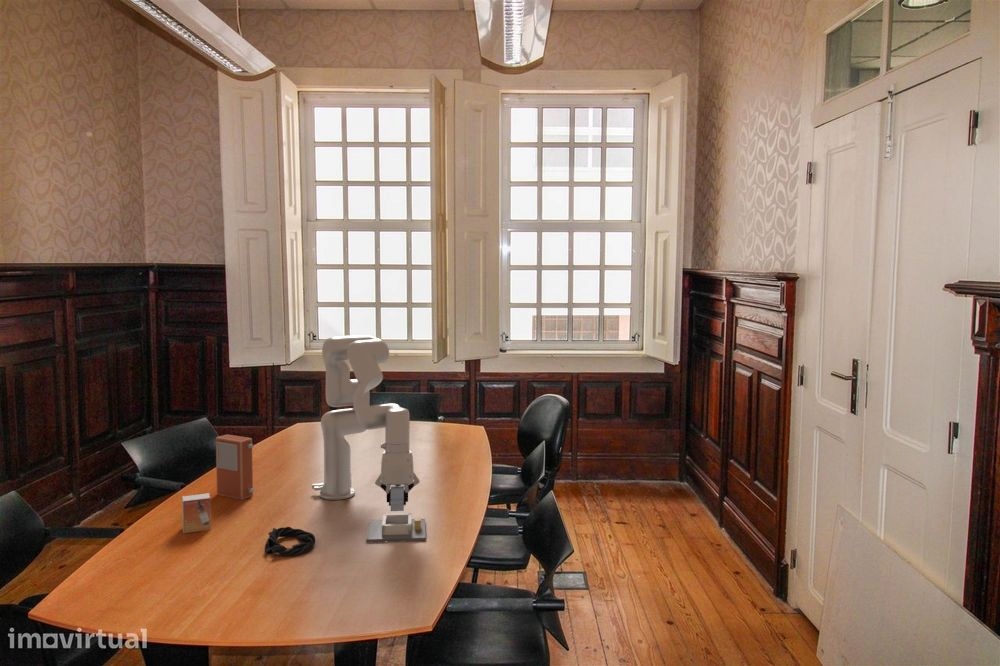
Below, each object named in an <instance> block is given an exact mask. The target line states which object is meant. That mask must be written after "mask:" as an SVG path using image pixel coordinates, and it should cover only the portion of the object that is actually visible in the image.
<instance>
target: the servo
mask: <svg viewBox="0 0 1000 666" xmlns="http://www.w3.org/2000/svg"><path fill="white" fill-rule="evenodd" d="M390 489H391V501H390V504H391V505H390V512H404V511H405V505H404V489H405V488H404V485H391V487H390Z"/></svg>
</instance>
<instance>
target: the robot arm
mask: <svg viewBox="0 0 1000 666" xmlns="http://www.w3.org/2000/svg"><path fill="white" fill-rule="evenodd" d="M389 349H390V348H389V346H388V344H387V343H386V342H385V341H384V340H383V339H381V338H377V337H374V336H372V335H365V334H364V335H342V336H341V335H339V336H332V337H329V338H327V339H325V340H324V342H323V344H322V348H321V354H322V360H323V363H324V366H325V401H326V403H327V405H328V406H329V407H332V408H341V407H348V406H353V407H352V408H343V409H342V408H341V409H335V410H334V409H333V410H330V411H327V412H326V413H324V414H323V415H322V416H321V420H320V427H321V432H322V438H323V439H322V440H323V476H324V477H323V482H320V483H312V484H311V489H312V490H313V491H320V492H319V497H320V498H321V499H323V500H328V501H329V500H330V501H339V500H345V499H346V500H347V499H348V498H352V497H353V496H354V495H355V494H356V490H355V489H354V488H353V487H352V486H351V483H352V482H351V481H352V480H351V479H352V478H351V477H352V475H351V468H352V467H351V465H352V464H351V457H352V456H351V452H352V451H351V445H350V444H349V442H348V441H347V440H346V438H345V436H349V435H354V434H361V433H364V432H367V431H366V430H368V431H369V430H378V429H385V430H384V432H385V433H384V435H385V437H384V438H385V439H384V441H385V442H384V443H381V444H380V449H384V451H383V452H382V456H381V462H380V464H381V466H380V473H379V475H378V477H377V478H376V480H375V482H374V484H375V485H376V486H377V487H380V488H381V489H382V490H383V491H384V492H385V493H386V503H388V506H390V507H391V504H390V501H391V485H404V506H406V505H407V502H409V492H410V491H411V490H412V489H413V488H414V487H415V486H416V485H418V484H420V479H419V478H418V476H417V474H416V473H415V472H414V469H415V468H414V458H413V457H414V456H413V453H412V450H410V411H409V409H408V408H404V407H401V405H399V404H397V403H393V402H391V403H384V404H383V403H382V404H381V403H380V404H373V405H370V401H371V400H370V399H371V398H370V395H371V394H370V391H371V390H373V389H374V388H376V387H377V386H379V385H380V384H381V383H382V381H383V379H384V375H383V372H382V370H381V368H380V366H379V364H385V363H387V362H388V360H389V358H390V350H389ZM346 360H348V361H349V363H350V366H351V368H352V371H353V373H354V376H355V378H354V379H351V378H350V377H351V376H350V375H351V369H350V367H349V364H348V363H347V361H346Z"/></svg>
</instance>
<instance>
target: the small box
mask: <svg viewBox="0 0 1000 666" xmlns="http://www.w3.org/2000/svg"><path fill="white" fill-rule="evenodd" d="M181 503H182V505H181V508H182V510H181V512H182V513H181V515H182V517H181V518H182V520H181V521H182V533H183V534H189V533H197V532H205V531H206V532H207V531H210V530H211V529H212V525H211V520H212V519H211V516H212V515H211V513H212V512H211V496H210V493H209V492H206V493H201V494H192V495H181Z"/></svg>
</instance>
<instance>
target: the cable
mask: <svg viewBox="0 0 1000 666" xmlns="http://www.w3.org/2000/svg"><path fill="white" fill-rule="evenodd" d="M267 534H268V538H267V539H266V542H265V546H264V553H266V554H269V553H272V555H273V556H275V554H278V555H279V556H284V557H289V558H291V557H292V558H293V557H296V556H297V557H298V556H299V555H302V554H303V555H304V554H307V553H309V552H310V551H311V550H312V549H313V547H314V546H315V543H316V537H315V535H314V534H313V533H312V532H310V531H309V532H308V531H306V530H303V529H300V528H292V527H291V526H286V527H279V528H275V527H273V528H272V531H269V532H268V533H267ZM295 537H296V538H297V540H300V541H301V540H302V541H303V540H305V541H306V542H301V543H300V542H299V543H297V544H293V545H291V547H286V546H284V545H282V544H280V543H279V542H278V538H295Z"/></svg>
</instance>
